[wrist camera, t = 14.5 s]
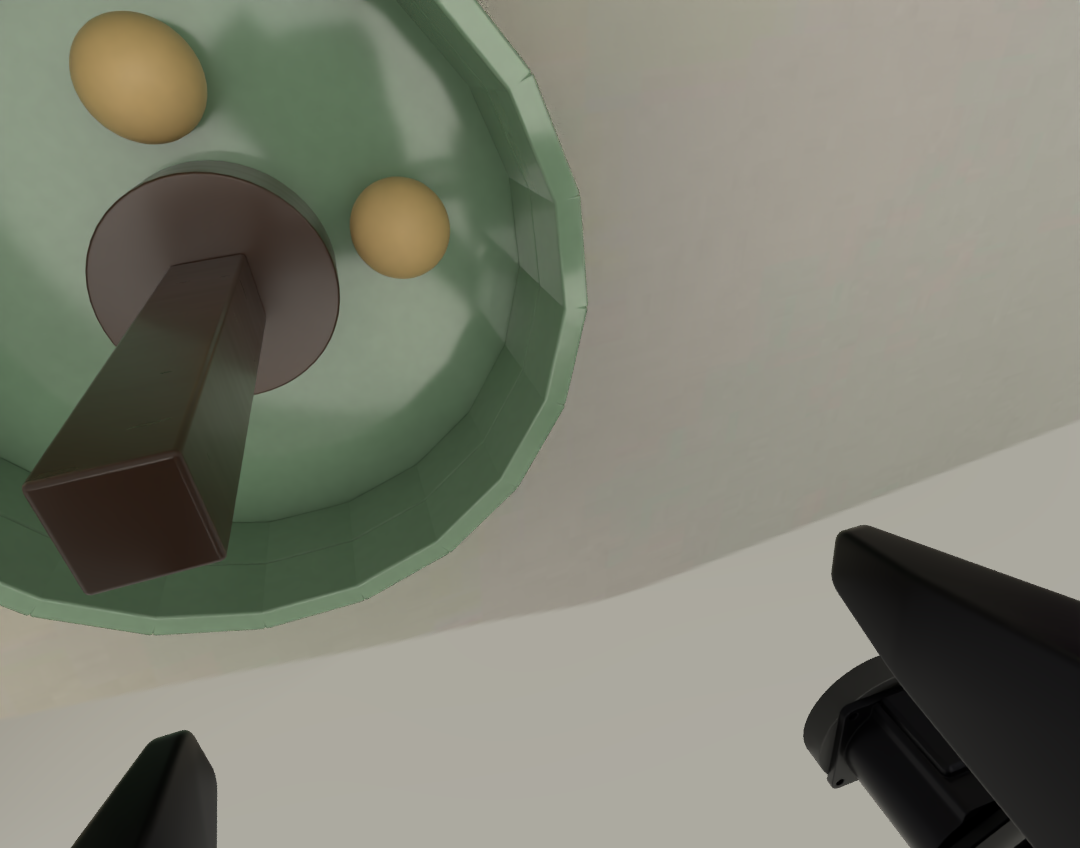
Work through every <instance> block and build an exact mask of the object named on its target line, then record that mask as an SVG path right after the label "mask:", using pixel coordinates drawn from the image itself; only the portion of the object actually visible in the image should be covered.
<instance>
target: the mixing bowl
mask: <svg viewBox="0 0 1080 848" xmlns="http://www.w3.org/2000/svg"><path fill="white" fill-rule="evenodd" d="M112 11H132V12H138V13H142V14H145V15H148V16H150V17H153V18H155V19H157V20H159V21H161V22H163V23H165V24H166V25H168V26H169V27H171V28H172V29H173V30H174V31H176V32H177V33H178V34H179V35H180V36H181V37H182V38H183V39H184V40H185V41H186V42H187V43H188V44H189V46H190V47H191V48H192V50H193V51H194V53H195V54H196V56H197V58H198V59H199V61H200V64H201V66H202V68H203V71H204V74H205V78H206V83H207V103H206V108H205V111H204V114H203V116H202V118H201V120H200V121H199V123H198V125H197V126H196V127H195V128H194V129H193V130H192V131H191V132H190V133H189V134H187V135H186V136H184V137H182V138H181V139H179V140H176V141H174V142H170V143H165V144H143V143H138V142H134V141H131V140H128V139H126V138H123V137H121V136H119V135H117V134H115V133H113V132H112V131H110V130H109V129H107V128H106V127H104V126H103V125H102V124H101V123H99V122H98V121H97V120H96V119H95V118H94V117H93V116H92V115H91V114H90V113H89V111H88V110H87V109H86V108H85V106H84V105H83V103H82V102H81V100H80V99H79V97H78V95H77V93H76V91H75V89H74V86H73V83H72V80H71V76H70V70H69V54H70V49H71V45H72V42H73V40H74V38H75V36H76V34H77V33H78V31H79V30H80V29H81V28H82V27H83V26H84V25H85V24H86V23H87V22H88V21H89V20H91V19H92V18H94V17H96V16H98V15H100V14H103V13H107V12H112ZM204 160H210V161H225V162H230V163H236V164H240V165H244V166H247V167H250V168H254V169H256V170H258V171H261V172H263V173H265V174H267V175H269V176H271V177H273V178H275V179H276V180H278V181H280V182H281V183H283V184H284V185H286V186H287V187H288V188H290V189H291V190H292V191H294V192H295V193H296V194H297V195H298V196H299V197H300V198H301V199H302V200H304V201H305V202H306V203H307V205H308V206H309V207H310V208H311V209H312V211H313V212H314V213H315V214H316V216H317V217H318V219H319V220H320V222H321V223H322V225H323V226H324V228H325V231H326V233H327V235H328V237H329V239H330V242H331V245H332V248H333V251H334V254H335V259H336V265H337V272H338V279H339V287H340V308H339V316H338V320H337V324H336V328H335V330H334V333H333V335H332V338H331V340H330V342H329V343H328V345H327V347H326V349H325V350H324V352H323V353H322V354H321V356H320V357H319V358H318V360H317V361H316V362H315V363H314V364H313V365H312V366H311V367H310V368H309V369H308V370H307V371H305V372H304V373H303V374H301V375H300V376H299V377H297V378H296V379H294V380H292V381H291V382H289V383H287V384H285V385H283V386H281V387H278V388H276V389H274V390H271V391H268V392H264V393H260V394H257V395H253V401H252V407H251V413H250V419H249V425H248V431H247V437H246V443H245V449H244V455H243V461H242V467H241V473H240V479H239V485H238V491H237V497H236V503H235V509H234V515H233V521H232V527H231V533H230V539H229V545H228V551H227V557H226V558H225V559H224V560H222V561H220V562H216V563H213V564H209V565H205V566H201V567H197V568H194V569H190V570H186V571H182V572H178V573H175V574H171V575H167V576H163V577H159V578H156V579H152V580H148V581H144V582H140V583H137V584H133V585H129V586H125V587H121V588H118V589H114V590H110V591H106V592H102V593H99V594H95V595H86V594H85V593H84V592H83V591H82V589H81V587H80V586H79V584H78V583H77V581H76V579H75V578H74V576H73V574H72V573H71V571H70V569H69V568H68V566H67V565H66V563H65V561H64V560H63V558H62V556H61V555H60V553H59V552H58V550H57V548H56V547H55V545H54V543H53V542H52V540H51V538H50V537H49V535H48V534H47V532H46V530H45V529H44V527H43V525H42V524H41V522H40V520H39V519H38V517H37V516H36V514H35V512H34V511H33V509H32V507H31V506H30V504H29V502H28V501H27V499H26V498H25V496H24V494H23V491H22V485H23V483H24V482H25V480H26V479H27V477H28V476H29V474H30V473H31V472H32V470H33V469H34V467H35V466H36V464H37V463H38V461H39V460H40V458H41V457H42V455H43V454H44V452H45V451H46V449H47V448H48V446H49V445H50V444H51V442H52V441H53V439H54V438H55V436H56V435H57V433H58V432H59V430H60V429H61V427H62V426H63V424H64V423H65V421H66V420H67V419H68V417H69V416H70V414H71V413H72V411H73V410H74V408H75V407H76V405H77V404H78V402H79V401H80V399H81V398H82V396H83V395H84V393H85V392H86V391H87V389H88V388H89V386H90V385H91V383H92V382H93V380H94V379H95V377H96V376H97V374H98V373H99V371H100V370H101V368H102V367H103V365H104V364H105V363H106V361H107V360H108V358H109V357H110V355H111V354H112V352H113V351H114V349H115V348H116V347H115V345H114V344H113V343H112V342H111V340H110V339H109V338H108V336H107V335H106V333H105V332H104V331H103V329H102V327H101V325H100V323H99V322H98V320H97V318H96V316H95V314H94V311H93V308H92V306H91V303H90V300H89V296H88V291H87V287H86V275H85V266H86V255H87V251H88V247H89V243H90V239H91V237H92V235H93V233H94V230H95V228H96V226H97V224H98V223H99V221H100V220H101V218H102V217H103V215H104V214H105V212H106V211H107V210H108V209H109V208H110V207H111V206H112V205H113V204H114V203H115V201H116V200H118V199H119V198H120V197H122V196H123V195H124V194H126V193H127V192H128V191H129V190H131V189H132V188H134V187H135V186H136V185H138V184H139V183H141V182H142V181H143V180H145V179H146V178H148V177H150V176H151V175H153V174H155V173H157V172H159V171H160V170H163V169H166V168H168V167H171V166H174V165H177V164H182V163H186V162H192V161H204ZM387 177H407V178H411V179H414V180H417V181H419V182H421V183H423V184H424V185H426V186H427V187H429V188H430V189H431V190H432V191H433V192H434V193H435V194H436V195H437V196H438V197H439V199H440V200H441V202H442V203H443V205H444V207H445V209H446V211H447V214H448V218H449V223H450V238H449V243H448V247H447V249H446V252H445V254H444V255H443V257H442V259H441V260H440V261H439V262H438V264H437V265H436V266H435V267H434V268H433V269H431V270H430V271H428V272H427V273H425V274H423V275H420V276H417V277H414V278H409V279H398V278H391V277H388V276H385V275H382V274H380V273H378V272H376V271H375V270H373V269H372V268H371V267H370V266H368V265H367V264H366V263H365V262H364V261H363V259H362V258H361V257H360V256H359V254H358V253H357V251H356V249H355V247H354V244H353V242H352V238H351V234H350V216H351V211H352V208H353V205H354V203H355V201H356V200H357V198H358V196H359V195H360V194H361V193H362V191H363V190H364V189H365V188H367V187H368V186H369V185H371V184H372V183H374V182H376V181H378V180H380V179H383V178H387ZM587 306H588V298H587V284H586V270H585V257H584V243H583V229H582V215H581V201H580V196H579V190H578V188H577V185H576V183H575V180H574V177H573V175H572V172H571V170H570V167H569V165H568V162H567V159H566V157H565V154H564V152H563V149H562V147H561V144H560V141H559V139H558V136H557V134H556V131H555V128H554V126H553V123H552V121H551V118H550V116H549V113H548V110H547V108H546V105H545V103H544V100H543V98H542V95H541V92H540V90H539V87H538V85H537V82H536V79H535V77H534V75H533V74H531V71H530V68H529V67H528V66H527V65H526V63H525V62H524V61H523V59H522V58H521V57H520V56H519V54H518V53H517V52H516V50H515V49H514V48H513V47H512V45H511V44H510V43H509V41H508V40H507V39H506V38H505V36H504V35H503V34H502V32H501V31H500V30H499V29H498V27H497V26H496V25H495V23H494V22H493V21H492V20H491V18H490V17H489V16H488V14H487V13H486V12H485V11H484V9H483V8H482V7H481V5H480V4H479V3H478V2H477V0H0V605H1V606H3V607H6V608H8V609H11V610H13V611H16V612H19V613H21V614H24V615H30V616H32V617H37V618H43V619H49V620H56V621H62V622H69V623H75V624H82V625H88V626H94V627H101V628H107V629H114V630H120V631H126V632H133V633H139V634H146V635H152V634H154V635H171V634H188V633H205V632H222V631H239V630H256V629H264V628H265V627H266V628H271V627H274V626H278V625H281V624H285V623H288V622H292V621H295V620H299V619H302V618H306V617H309V616H313V615H316V614H320V613H323V612H327V611H330V610H334V609H337V608H341V607H344V606H348V605H351V604H355V603H358V602H362V601H364V599H369V598H371V597H372V596H374V595H376V594H378V593H379V592H381V591H383V590H385V589H387V588H388V587H390V586H392V585H394V584H395V583H397V582H399V581H401V580H402V579H404V578H406V577H408V576H410V575H411V574H413V573H415V572H417V571H418V570H420V569H422V568H424V567H426V566H427V565H429V564H431V563H433V562H434V561H436V560H438V559H440V558H442V557H443V556H445V555H447V554H448V553H449V552H452V551H453V550H454V549H455V548H456V547H457V546H458V545H459V544H460V543H461V542H462V541H463V540H464V539H465V538H466V537H467V536H468V535H469V534H470V533H471V532H472V531H473V530H474V529H475V528H476V527H477V526H478V525H480V524H481V523H482V522H483V521H484V520H485V519H486V518H487V517H488V516H489V515H490V514H491V513H492V512H493V511H494V510H495V509H496V508H497V507H498V506H499V505H500V504H501V503H502V502H503V501H504V500H505V499H506V498H507V497H508V496H509V495H511V494H512V493H513V492H514V491H515V490H516V488H517V487H518V486H519V484H520V483H521V481H522V479H523V478H524V476H525V474H526V472H527V471H528V469H529V467H530V465H531V464H532V462H533V460H534V459H535V457H536V455H537V453H538V452H539V450H540V448H541V446H542V445H543V443H544V441H545V440H546V438H547V436H548V434H549V433H550V431H551V429H552V427H553V426H554V424H555V422H556V420H557V419H558V417H559V415H560V414H561V412H562V410H563V408H564V404H565V403H566V398H567V394H568V390H569V385H570V381H571V377H572V373H573V368H574V364H575V360H576V355H577V351H578V347H579V343H580V338H581V334H582V330H583V325H584V321H585V317H586V313H587Z"/></svg>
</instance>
